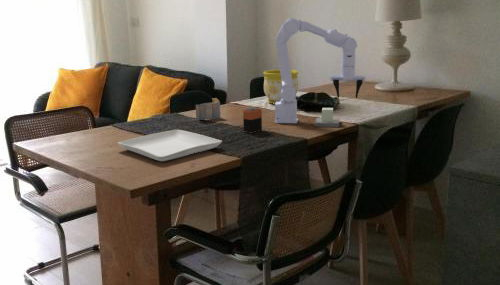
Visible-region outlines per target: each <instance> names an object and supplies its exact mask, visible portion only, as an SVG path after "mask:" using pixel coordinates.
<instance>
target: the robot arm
mask: <svg viewBox="0 0 500 285" xmlns="http://www.w3.org/2000/svg"><path fill="white" fill-rule="evenodd" d="M298 32H308V33H312V34H314V35H316V36H319V37H322V38H324V41H325V42H326V43H327V44H330V45H332V46H334V47H337V48H341V51H342V53H341V68H340V70H341V71H340V74H341V75H330V82H332V83H333V86H334V88H335V91H336V96H337V97H336V98H338V99H339V98H340V82H346V81H347V82H354V81H356V84H355V85H356V88H355V89H356V90H355V99H358V95H359V91H360V88H361V86H362V85H363V82H366V75H356V49H357V47H358V44H357V41H356V39H355V38H353V37H351V36H348V35H349V34H347V33H342V32H339V31H338V29H336V28H334V29H332V28H331V29H328V30H326V29H323V28H321V27H320V26H317V25H315V24H313V23H310V22H308V21H305V20H302V19H296V18H295V17H289V18H287V19H286V20H285V21H284V22H283V23H282V24H281V27H280V29H279V31H278V33H277V35H276V36H275V45H276V51H277V58H278V59H277V60H278V64H279V65H278V66H279V70H280V73H281V80H282V90H281V96H282V99H281V100H280V102H276V103H275V104H274V124H297V123H298V121H299V118H298V117H297V116H298V114H297V112H298V110H297V109H298V105H297V104H298V102H297V101H298V100H297V99H296V98H297V94H296V92H295V88H294V87H293V84H292V78H291V70H292V69H291V66H290V58H289V49H288V41H289V40H290V39H291V37H293V36H294V35H295V34H297V33H298Z"/></svg>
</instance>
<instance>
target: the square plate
mask: <svg viewBox="0 0 500 285" xmlns="http://www.w3.org/2000/svg"><path fill="white" fill-rule="evenodd" d="M222 142H223V140H222V139H217V138H214V137H210V136H207V135H203V134H199V133H195V132H191V131H187V130H182V129H172V130H166V131H161V132H156V133H150V134H146V135H141V136H137V137H134V138H129V139H125V140H121V141H118V142H117V144H118V146H120V147H121V148H123V149H125V150H127V151H130V152H132V153H136V154H139V155H141V156H144V157H146V158H150V159H153V160H156V161H158V162H166V161H171V160H175V159H179V158H183V157H187V156H190V154H191V155H194V153H195V154H198V152H199V153H202V152H205V151H208V150H212V149H214V148H217V147H219V145H221V143H222Z"/></svg>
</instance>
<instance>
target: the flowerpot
mask: <svg viewBox="0 0 500 285" xmlns="http://www.w3.org/2000/svg"><path fill="white" fill-rule="evenodd" d="M290 70H291V78H292V84H293V87H294V88H295V92H296V95H297V93H298V89H299V88H298V87H299V84H298V74H299V71H298V70H293V69H290ZM262 74H263V75H264V77H263V78H264V80H263V92H264V94H265V96H266V98H267V102H268V104H270V103H274V104H273V105H275V103H276V102H280V100H281V99H282V96H281V90H282V80H281V73H280V69H269V70H264V71H263V73H262Z"/></svg>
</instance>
